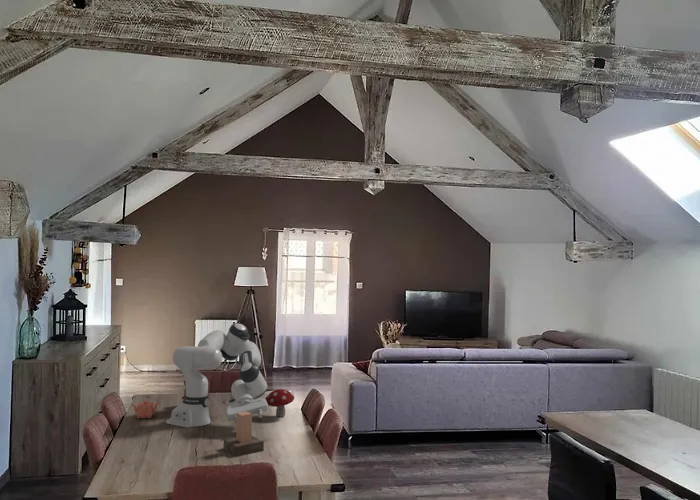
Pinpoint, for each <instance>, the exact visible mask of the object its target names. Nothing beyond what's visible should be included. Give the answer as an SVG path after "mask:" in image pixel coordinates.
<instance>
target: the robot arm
mask: <svg viewBox="0 0 700 500" xmlns="http://www.w3.org/2000/svg"><path fill="white" fill-rule="evenodd" d="M250 338H251V334H249V330H248V328H247V327H246V325H244V324H242V323H238V322H236V323H232V324H231V326H230V327H229V328H228V332H227V333H225V332H223V330H219V329H216V330H213V331H211V332H209V333H207V334H206V335H205V336H204V337H203V338H202V339H201V340H199V342H198V344H197V346H192V345H185V346H180V347H179V346H178V347H176V349H174V352H173V353H172V361H173V363H174V365H175V366H176V367H177V368H178V369H179V370H180V371H181V372H182V375H183V377H184V380H185V382H186V386H185V387H186V395H185V396H184V395H183V396H181V397H180V399H181V400H182V402H181V403H180V404H178V405H176V407H175V408H173V409H172V411H171V413H170V414H171V415H170V418H168V419H166V421H165V424H168V425H173V426H177V427H182V428H192V427H193V428H194V427H200V426H201V427H202V426H206V425H209V424H210V423H211V422H212V421H211V418H210V411H209V401H210V395H209V381H208V380H209V379H208V378H207V376H205V374H204V375H203V374H202V373H201V372H200V370H199V369H201V370H202V369H203V370H210V369H215V368H219V367H220V365H221V363H222V362H223V359H224V360H226V361H235V360H237V358H240V368H239V371H238V377H239V378H240V379H237V380H235V381H234V382H232V385H231V389H230V390H231V397H232V399H229V400H227V401H226V410H225V412H226V417H227V421H229V422H231V421H236V417H237V413H240V412H246V411H247V412H249V413H251V414H252V416H254V415H257V418H259V419H260V418H262V417H263V416H262V414H263V413H265V412H267V411H269V406H268V404H267V402H266V399H265V398H266V397H264V398H263V397H262V396H263V395H264V394H265V393H266V392H267V389H268V383H267V382H266V380H265V378H264V376H263V375H262V373H261V371H260V369H259V368H260V366H261V365H262V355H261V351H260V349H259V347H258V346H257V344H256V343H255V342H253V341H251V340H249V339H250Z"/></svg>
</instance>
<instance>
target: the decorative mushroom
mask: <svg viewBox="0 0 700 500" xmlns="http://www.w3.org/2000/svg"><path fill="white" fill-rule="evenodd" d="M264 398H265V399H266V402H267V404H268V407H274V408H275V407H276V409H275V416H276V417H284V416H286V408H285V406H287V405H289V404H291V403H292V402H293V401H294V400H295V395H294V394H293V393H292V392H291V391H289V390H287V389H283V388H277V389H274V390H272V391H271V392H269V393H268V394H267V395H266V396H265V397H264Z"/></svg>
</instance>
